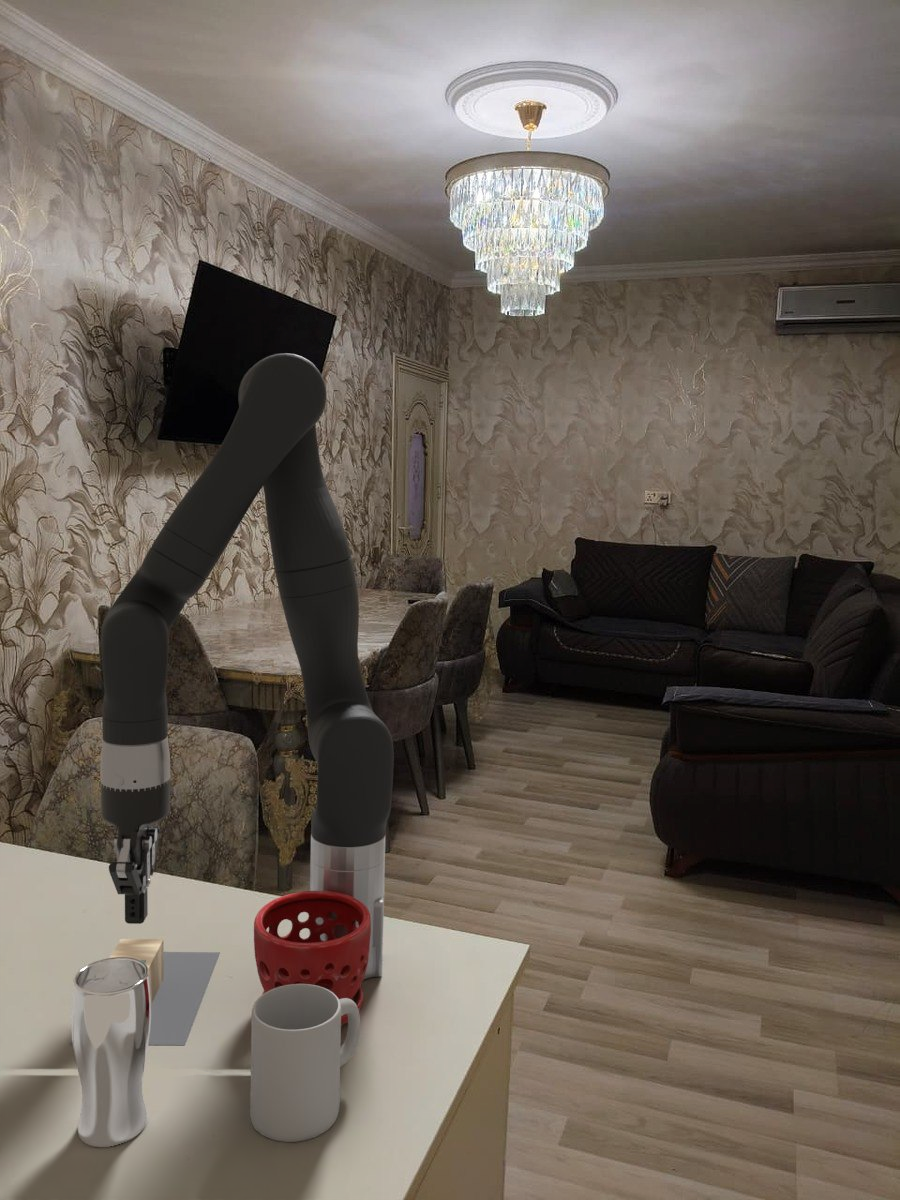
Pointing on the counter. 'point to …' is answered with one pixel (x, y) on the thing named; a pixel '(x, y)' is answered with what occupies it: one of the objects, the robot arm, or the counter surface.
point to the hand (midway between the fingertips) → (136, 920)
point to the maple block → (144, 958)
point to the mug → (298, 1060)
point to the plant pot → (314, 944)
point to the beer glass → (111, 1048)
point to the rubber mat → (179, 995)
